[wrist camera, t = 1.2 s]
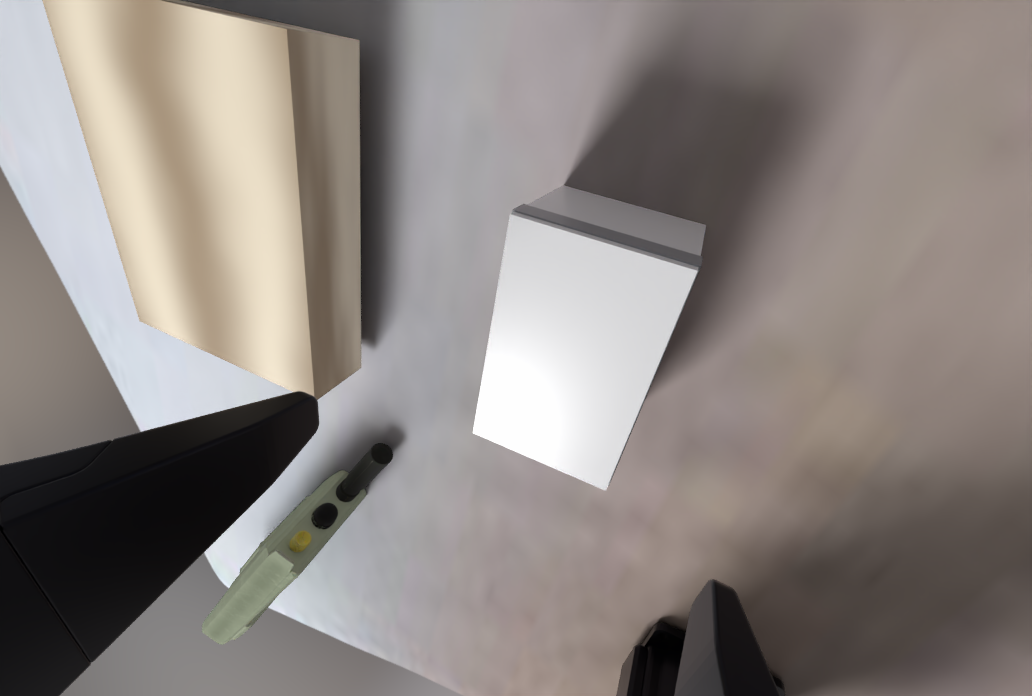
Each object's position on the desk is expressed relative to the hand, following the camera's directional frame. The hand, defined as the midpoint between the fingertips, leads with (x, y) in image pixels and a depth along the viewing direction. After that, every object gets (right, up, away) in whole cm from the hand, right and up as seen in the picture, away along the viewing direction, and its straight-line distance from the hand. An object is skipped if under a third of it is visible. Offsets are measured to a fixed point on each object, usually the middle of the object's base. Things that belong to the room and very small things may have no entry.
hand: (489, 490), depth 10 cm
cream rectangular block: (-11, +10, +12) cm, 19 cm away
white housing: (+4, +5, +8) cm, 10 cm away
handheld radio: (-13, -9, +24) cm, 29 cm away
